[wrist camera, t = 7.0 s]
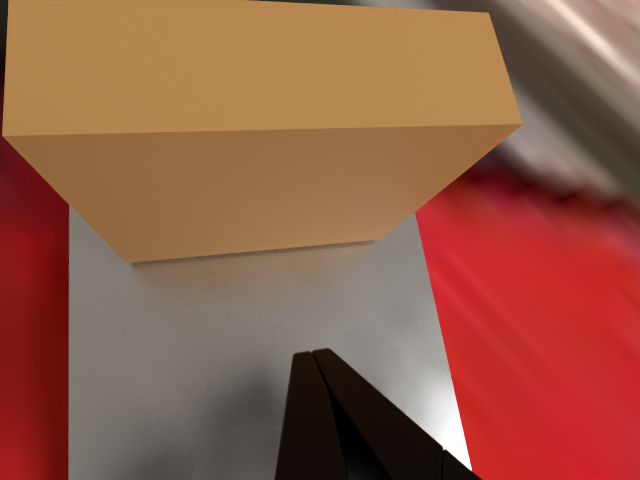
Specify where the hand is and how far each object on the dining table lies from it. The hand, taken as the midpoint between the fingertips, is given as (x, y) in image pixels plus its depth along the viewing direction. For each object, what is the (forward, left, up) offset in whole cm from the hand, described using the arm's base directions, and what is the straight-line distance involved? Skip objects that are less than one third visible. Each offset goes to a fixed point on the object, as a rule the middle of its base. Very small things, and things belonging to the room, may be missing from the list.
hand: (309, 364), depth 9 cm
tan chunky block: (+7, +5, -6) cm, 11 cm away
